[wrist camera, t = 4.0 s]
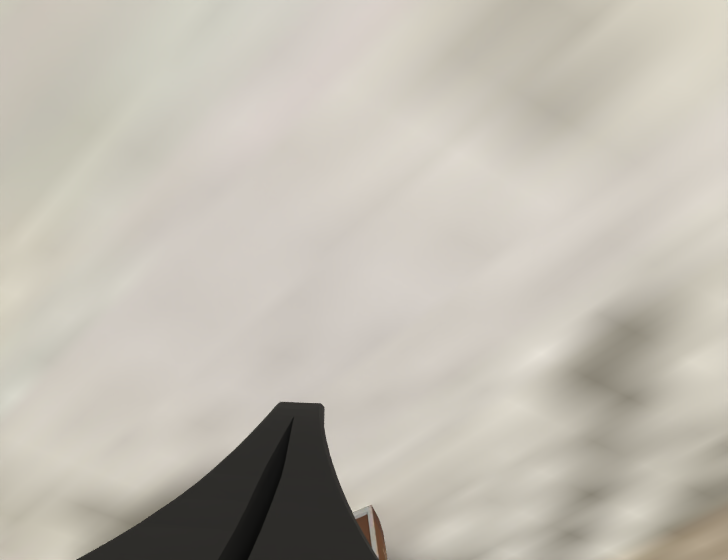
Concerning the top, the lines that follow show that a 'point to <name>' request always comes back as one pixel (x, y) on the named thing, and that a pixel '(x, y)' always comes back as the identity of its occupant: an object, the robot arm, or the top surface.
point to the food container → (372, 530)
